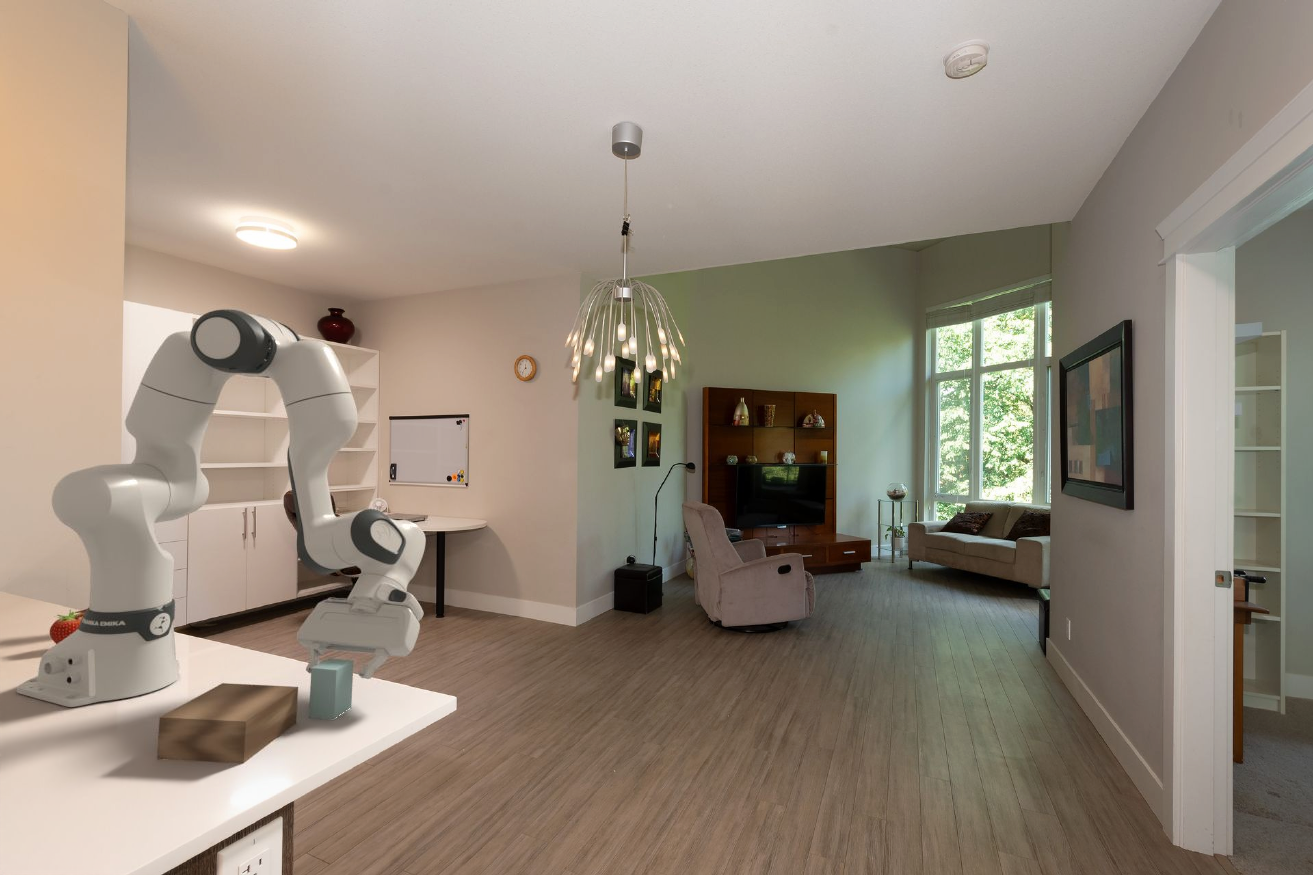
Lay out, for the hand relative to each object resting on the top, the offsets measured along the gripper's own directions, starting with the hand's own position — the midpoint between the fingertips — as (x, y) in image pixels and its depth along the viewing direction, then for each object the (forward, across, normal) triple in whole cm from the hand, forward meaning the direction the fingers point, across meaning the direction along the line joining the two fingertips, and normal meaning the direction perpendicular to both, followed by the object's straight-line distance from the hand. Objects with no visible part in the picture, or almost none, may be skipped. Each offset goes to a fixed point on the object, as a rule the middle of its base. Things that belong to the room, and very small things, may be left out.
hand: (337, 674), depth 100 cm
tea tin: (+5, 0, +3) cm, 6 cm away
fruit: (-5, -67, +13) cm, 69 cm away
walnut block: (+13, -8, -4) cm, 16 cm away
